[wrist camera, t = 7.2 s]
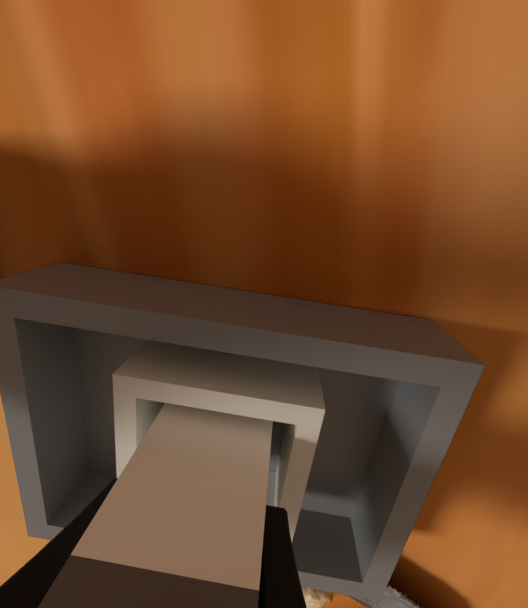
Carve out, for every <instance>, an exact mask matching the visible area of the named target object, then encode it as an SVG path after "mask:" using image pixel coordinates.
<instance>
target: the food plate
mask: <svg viewBox="0 0 528 608" xmlns="http://www.w3.org/2000/svg"><path fill="white" fill-rule="evenodd" d="M396 590H397V589H396ZM396 590H395V589H394V588H393V589H392V587H391V586H389V585H388V587H386V589H385V591H384V593H383V596H382V598H381V600H380V601H375V600H369V599H364V598H359V597H353V596H349V597H351V598H353V599H355V600H356V601H357V602H359V603H361V605H363V606H366V607H368V608H420V607H419V605H418V604H417V605H416V604H415V603H414V601H411V600H410V599H407V598H406V596H407V595H406V593H405V595H402V593H401V592H399V593H398V592H397V591H396ZM302 591H303V595H304V599H305V603H306V607H307V608H322V607H323V605H324V604H325V603H326V602H328V603H329V602H330V603H331V601H332V592H327V591H321V590H316V589H310V588H305V587H302ZM398 591H399V590H398ZM347 596H348V595H347ZM407 597H408V596H407ZM417 603H418V601H417ZM422 608H423V607H422Z"/></svg>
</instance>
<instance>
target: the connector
mask: <svg viewBox="0 0 528 608" xmlns="http://www.w3.org/2000/svg"><path fill="white" fill-rule="evenodd" d="M272 424H273V421H270V420H264V419H258V418H252V417H247V416H241V415H235V414H229V413H223V412H217V411H211V410H205V409H199V408H193V407H187V406H182V405H176V404H170V403H165V404H164V405H163V407H162V409H161V410H160V412H159V413H158V415H157V417H156V418H155V420H154V421H153V423H152V425H151V426H150V428H149V429H148V431H147V433H146V434H145V436H144V437H143V439H142V441H141V442H140V444H139V446H138V447H137V449H136V450H135V452H134V454H133V455H132V457H131V458H130V460H129V462H128V463H127V465H126V466H125V468H124V470H123V471H122V473H121V474H120V476H119V478H118V479H117V481H116V483H115V484H114V486H113V487H112V489H111V491H110V492H109V494H108V495H107V497H106V499H105V500H104V502H103V503H102V505H101V507H100V508H99V510H98V511H97V513H96V515H95V516H94V518H93V520H92V521H91V523H90V524H89V526H88V528H87V529H86V531H85V532H84V534H83V536H82V537H81V539H80V540H79V542H78V544H77V545H76V547H75V548H74V550H73V552H72V553H71V555H70V556H69V558H68V560H67V561H66V563H65V565H64V566H63V568H62V569H61V571H60V573H59V574H58V576H57V577H56V579H55V581H54V582H53V584H52V585H51V587H50V589H49V590H48V592H47V593H46V595H45V597H44V598H43V600H42V602H41V603H40V605H39V606H38V608H258V598H259V585H260V573H261V560H262V548H263V536H264V523H265V511H266V498H267V486H268V474H269V461H270V449H271V436H272Z"/></svg>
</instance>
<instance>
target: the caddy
mask: <svg viewBox="0 0 528 608" xmlns="http://www.w3.org/2000/svg"><path fill="white" fill-rule="evenodd" d="M484 367H485V365H484V364H483V363H482V362H481V361H480V360H479V359H477V358H476V357H475V356H474V355H473V354H471V353H470V352H469V351H468V350H467V349H466V348H464V347H463V346H462V345H461V344H460V343H459V342H457V341H456V340H455V339H454V338H453V337H452V336H450V335H449V334H448V333H447V332H446V331H444V330H443V329H442V328H441V327H440V326H439V325H437V324H436V323H435V322H434V321H433V320H428V319H422V318H416V317H409V316H403V315H396V314H390V313H384V312H377V311H371V310H364V309H358V308H351V307H345V306H339V305H332V304H326V303H319V302H313V301H307V300H300V299H294V298H287V297H281V296H275V295H268V294H262V293H255V292H249V291H243V290H236V289H230V288H223V287H217V286H210V285H204V284H198V283H191V282H185V281H178V280H172V279H166V278H159V277H153V276H146V275H140V274H134V273H127V272H121V271H114V270H108V269H101V268H95V267H89V266H82V265H76V264H69V263H63V262H59V263H56V264H52V265H48V266H45V267H41V268H37V269H34V270H30V271H26V272H23V273H19V274H16V275H12V276H8V277H5V278H1V279H0V392H1V397H2V403H3V408H4V413H5V418H6V423H7V428H8V434H9V439H10V444H11V449H12V454H13V459H14V465H15V470H16V475H17V480H18V485H19V490H20V496H21V501H22V506H23V511H24V516H25V521H26V527H27V532H28V536H31V537H37V538H42V539H48V540H52V539H53V538H54V537H55V536H56V535H57V534H58V533H59V532H60V531H62V530H63V529H64V528H65V527H66V526H67V525H68V524H69V523H70V522H71V521H72V520H73V519H74V518H75V517H76V516H77V515H78V514H79V513H80V512H81V511H82V510H83V509H84V508H85V507H86V506H87V505H88V504H89V503H90V502H91V501H92V500H93V499H94V498H95V497H96V496H97V495H98V494H99V493H100V492H101V491H102V490H103V488H104V487H105V486H106V485H107V484H108V483H109V482H110V481H111V480H112V479H114V478H119V476H120V474H121V473H122V471H123V470H124V468H125V466H126V465H127V463H128V462H129V460H130V458H131V457H132V455H133V454H134V452H135V450H136V449H137V447H138V446H139V444H140V442H141V441H142V439H143V437H144V436H145V434H146V433H147V431H148V429H149V428H150V426H151V425H152V423H153V421H154V420H155V418H156V417H157V415H158V413H159V412H160V410H161V409H162V407H163V405H164V404H165V403H170V404H176V405H182V406H187V407H193V408H199V409H205V410H211V411H217V412H223V413H229V414H235V415H241V416H247V417H252V418H258V419H264V420H270V421H273V424H272V436H271V449H270V461H269V474H268V486H267V498H266V505H269V506H275V507H281V508H285V509H286V511H287V514H288V523H289V530H290V536H291V542H292V547H293V552H294V557H295V562H296V566H297V571H298V575H299V579H300V583H301V587H305V588H310V589H316V590H321V591H327V592H332V593H337V594H343V595H348V596H353V597H359V598H364V599H369V600H375V601H380V600H381V598H382V596H383V593H384V591H385V589H386V587H387V584H388V582H389V580H390V578H391V575H392V573H393V571H394V569H395V566H396V564H397V562H398V560H399V557H400V555H401V553H402V551H403V548H404V546H405V544H406V542H407V539H408V537H409V535H410V533H411V531H412V528H413V526H414V524H415V522H416V519H417V517H418V515H419V513H420V510H421V508H422V506H423V504H424V501H425V499H426V497H427V495H428V492H429V490H430V488H431V486H432V483H433V481H434V479H435V477H436V474H437V472H438V470H439V468H440V465H441V463H442V461H443V459H444V457H445V454H446V452H447V450H448V448H449V445H450V443H451V441H452V439H453V436H454V434H455V432H456V430H457V427H458V425H459V423H460V421H461V418H462V416H463V414H464V412H465V409H466V407H467V405H468V403H469V400H470V398H471V396H472V394H473V391H474V389H475V387H476V385H477V383H478V380H479V378H480V376H481V374H482V371H483V369H484Z"/></svg>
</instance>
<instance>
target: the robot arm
mask: <svg viewBox="0 0 528 608" xmlns="http://www.w3.org/2000/svg"><path fill="white" fill-rule="evenodd" d="M117 479H118V478H114V479H112V480H111V481H110V482H109V483H108V484H107V485H106V486H105V487H104V488H103V490H102V491H101V492H100V493H99V494H98V495H97V496H96V497H95V498H94V499H93V500H92V501H91V502H90V503H89V504H88V505H87V506H86V507H85V508H84V509H83V510H82V511H81V512H80V513H79V514H78V515H77V516H76V517H75V518H74V519H73V520H72V521H71V522H70V523H69V524H68V525H67V526H66V527H65V528H64V529H63V530H62V531H60V532H59V533H58V534H57V535H56V536H55V537H54V538H53V539H52V540H51V541H50V542H49V543H48V544H47V545H46V546H45V547H44V548H43V549H42V550H41V551H39V552H38V553H37V554H36V555H35V556H34V557H33V558H32V559H31V560H30V561H28V562H27V563H26V564H25V565H24V566H23V567H22V568H21V569H19V570H18V571H17V572H16V573H15V574H14V575H13V576H12V577H11V578H9V579H8V580H7V581H6V582H5V583H4V584H3V585H2V586H0V608H38V606H39V605H40V603H41V602H42V600H43V598H44V597H45V595H46V593H47V592H48V590H49V589H50V587H51V585H52V584H53V582H54V581H55V579H56V577H57V576H58V574H59V573H60V571H61V569H62V568H63V566H64V565H65V563H66V561H67V560H68V558H69V556H70V555H71V553H72V552H73V550H74V548H75V547H76V545H77V544H78V542H79V540H80V539H81V537H82V536H83V534H84V532H85V531H86V529H87V528H88V526H89V524H90V523H91V521H92V520H93V518H94V516H95V515H96V513H97V511H98V510H99V508H100V507H101V505H102V503H103V502H104V500H105V499H106V497H107V495H108V494H109V492H110V491H111V489H112V487H113V486H114V484H115V483H116V481H117ZM258 608H307V607H306V603H305V599H304V595H303V591H302V587H301V583H300V579H299V575H298V571H297V566H296V562H295V557H294V552H293V547H292V542H291V536H290V530H289V523H288V514H287V511H286V509H285V508H281V507H275V506H269V505H266V511H265V523H264V536H263V548H262V560H261V573H260V585H259V598H258Z"/></svg>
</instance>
